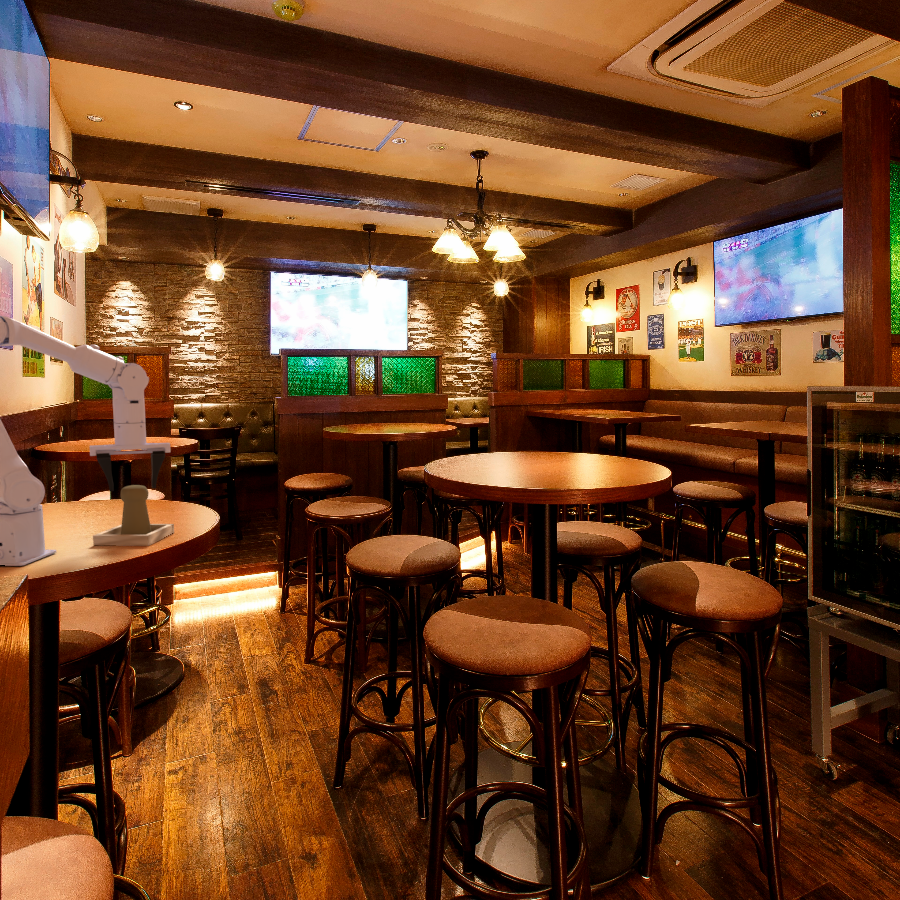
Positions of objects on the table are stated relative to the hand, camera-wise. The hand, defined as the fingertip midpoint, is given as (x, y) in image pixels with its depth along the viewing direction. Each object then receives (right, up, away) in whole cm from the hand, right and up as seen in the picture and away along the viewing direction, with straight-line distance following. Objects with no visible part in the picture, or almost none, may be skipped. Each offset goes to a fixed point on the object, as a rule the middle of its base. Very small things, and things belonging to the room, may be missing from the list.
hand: (133, 489), depth 126 cm
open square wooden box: (0, -10, +1) cm, 10 cm away
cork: (0, -11, +2) cm, 11 cm away
